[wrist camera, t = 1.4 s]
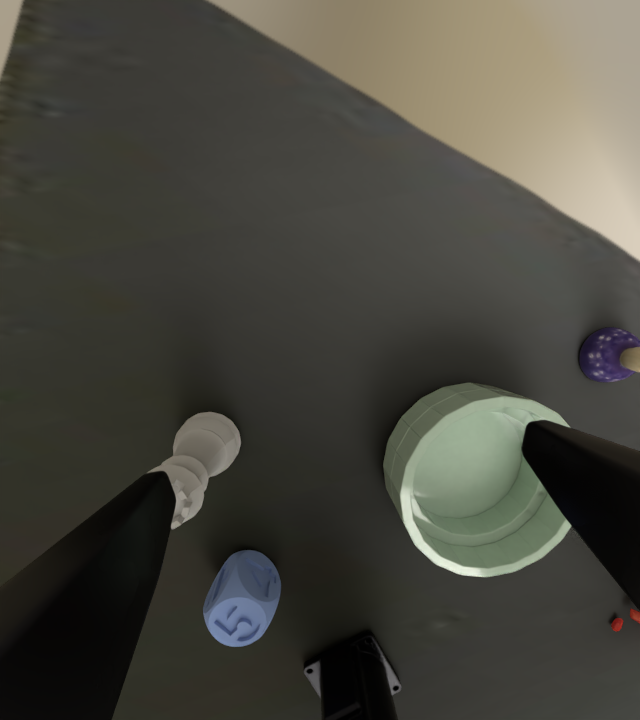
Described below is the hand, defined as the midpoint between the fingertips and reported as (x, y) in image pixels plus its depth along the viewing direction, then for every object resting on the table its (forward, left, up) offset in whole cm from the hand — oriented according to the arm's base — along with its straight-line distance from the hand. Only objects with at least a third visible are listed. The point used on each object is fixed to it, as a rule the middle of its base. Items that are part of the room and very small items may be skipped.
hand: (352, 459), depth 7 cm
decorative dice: (-12, +12, -15) cm, 23 cm away
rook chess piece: (-1, +9, -15) cm, 18 cm away
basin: (-12, -7, -15) cm, 20 cm away
